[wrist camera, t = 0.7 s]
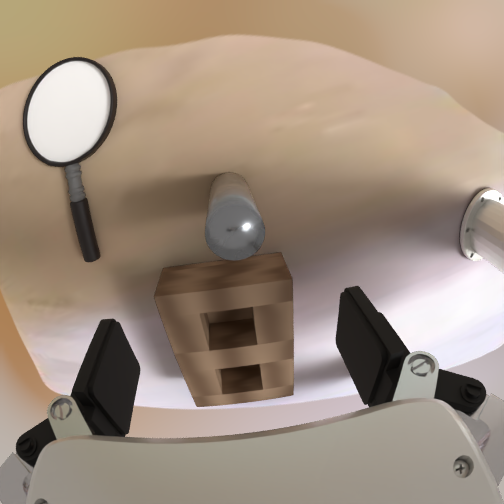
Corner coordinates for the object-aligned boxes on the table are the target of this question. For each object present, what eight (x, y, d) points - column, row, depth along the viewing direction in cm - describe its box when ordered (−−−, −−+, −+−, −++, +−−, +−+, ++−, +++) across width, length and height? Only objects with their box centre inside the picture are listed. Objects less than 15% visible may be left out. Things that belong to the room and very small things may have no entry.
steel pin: (246, 170, 29) (262, 201, 18) (250, 206, 31) (267, 256, 20) (208, 175, 29) (200, 209, 18) (213, 211, 31) (210, 263, 20)
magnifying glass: (58, 259, 31) (50, 266, 29) (29, 79, 21) (19, 78, 19) (140, 250, 32) (136, 258, 30) (117, 46, 22) (110, 42, 20)
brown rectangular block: (280, 252, 34) (292, 278, 28) (285, 365, 42) (293, 395, 37) (163, 268, 33) (153, 296, 28) (197, 376, 42) (196, 406, 36)
